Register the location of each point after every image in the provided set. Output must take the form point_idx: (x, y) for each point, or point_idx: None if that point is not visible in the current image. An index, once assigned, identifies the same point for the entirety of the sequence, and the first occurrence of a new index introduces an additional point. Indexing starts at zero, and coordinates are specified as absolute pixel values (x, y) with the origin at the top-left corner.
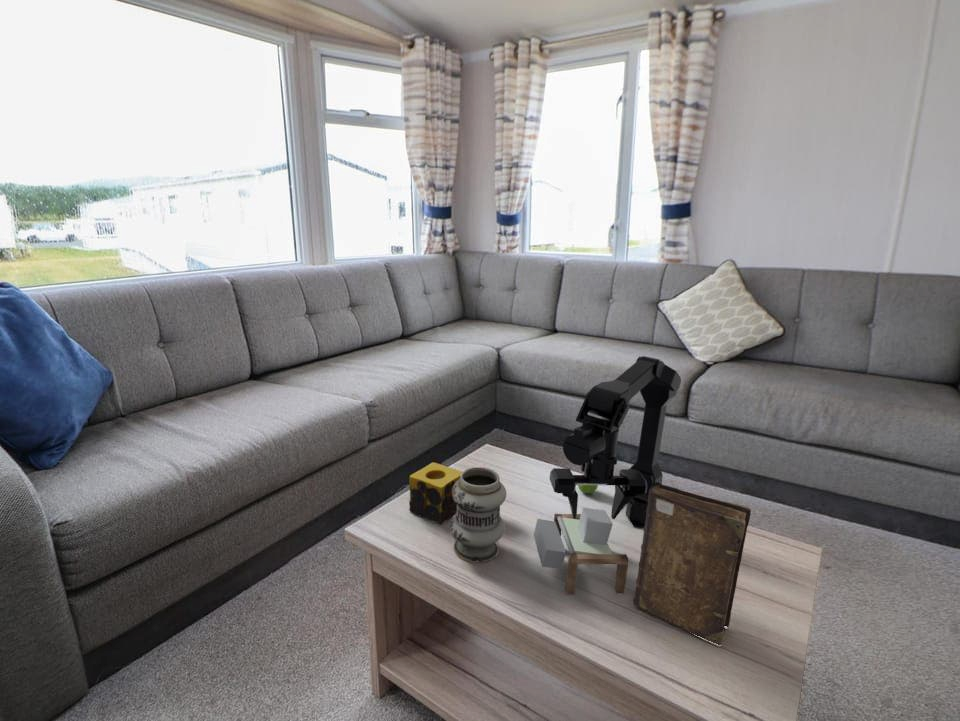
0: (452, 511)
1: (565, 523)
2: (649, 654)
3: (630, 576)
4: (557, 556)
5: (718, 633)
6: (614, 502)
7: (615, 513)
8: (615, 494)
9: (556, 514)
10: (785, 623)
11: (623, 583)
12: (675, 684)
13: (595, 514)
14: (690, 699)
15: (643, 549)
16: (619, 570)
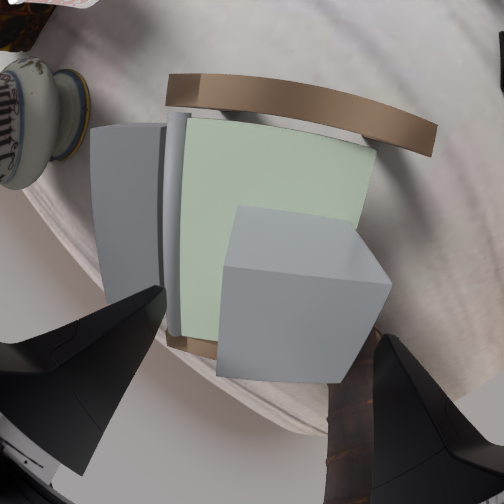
0: (39, 17)
1: (186, 174)
2: (287, 396)
3: (385, 265)
4: None
5: None
6: (406, 416)
7: (374, 400)
8: (433, 452)
9: (176, 79)
10: (484, 375)
11: None
12: (291, 418)
13: (287, 333)
14: (294, 427)
15: (326, 464)
16: None
